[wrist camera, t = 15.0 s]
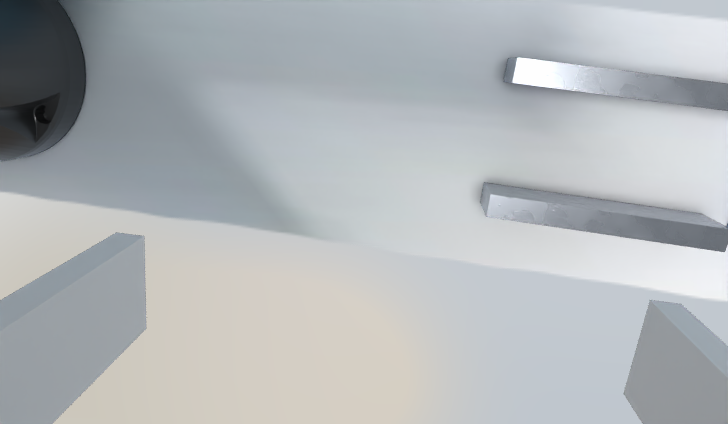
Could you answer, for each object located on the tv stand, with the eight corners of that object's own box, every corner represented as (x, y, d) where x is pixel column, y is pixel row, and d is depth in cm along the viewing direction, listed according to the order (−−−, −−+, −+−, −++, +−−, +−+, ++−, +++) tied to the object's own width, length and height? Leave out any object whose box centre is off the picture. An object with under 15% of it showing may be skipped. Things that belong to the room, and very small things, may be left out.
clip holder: (480, 202, 40) (486, 216, 36) (507, 58, 37) (517, 57, 33) (695, 234, 39) (724, 252, 35) (741, 88, 36) (779, 90, 32)
